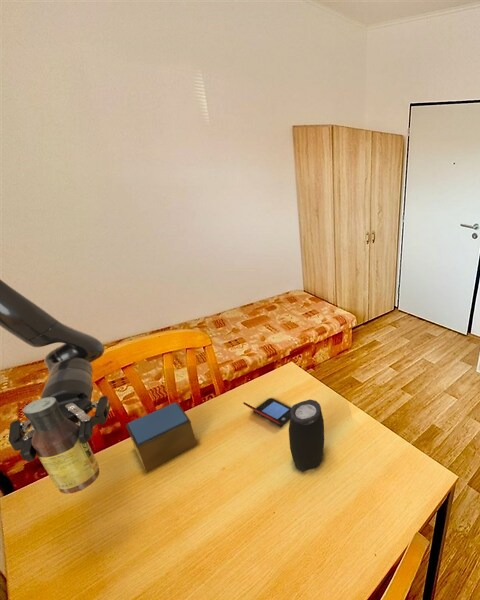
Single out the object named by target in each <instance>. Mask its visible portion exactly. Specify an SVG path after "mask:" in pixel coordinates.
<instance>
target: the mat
mask: <svg viewBox="0 0 480 600" xmlns="http://www.w3.org/2000/svg"><path fill="white" fill-rule="evenodd" d="M176 403H177V402H173V403H171V404H168V405H166V406H164V407H161V408H160V409H157V410H155V411H152V412H150V413H148V414H146V415H143V416H141V417H139V418H137V419H134V420H132V421H130V422H128V423H127V424H128V425H129V427H130V429H131V431H132V433H133V435H134V437H135V439H136V441H137V443H138V445H139V444H141V443H143V442H145V441H147V440H149V439H151V438H153V437H155V436H158V435H160V434H162V433H164V432H166V431H168V430H170V429H172V428H174V427H176V426H178V425H180V424H182V423H184V422H186V421H188V419H187V418H186V416H185V415H184V414H183V412H182V411H181V409H180V408H179V407H178V405H177V404H176Z"/></svg>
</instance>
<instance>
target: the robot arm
mask: <svg viewBox="0 0 480 600" xmlns="http://www.w3.org/2000/svg"><path fill="white" fill-rule="evenodd" d="M0 327H1V328H2V329H4V330H5V331H6V332H8V333H9V334H11V335H13V336H14V337H15V338H17V339H19V340H20V341H22V342H23V343H25V344H27V345H28V346H30V347H32V348H43V347H46V346H50V345H53V344H57V343H58V344H59V343H61V345H60V346H58V347H56V348H54V349H52V350H51V351H50V352H48V353H47V354H46V355H45V357H44V359H43V361H44V364H45V366H46V367H47V371H48V373H49V375H48V377H47V378H48V379H47V381H46V383H45V384H44V387H43V390H42V394H41V397H40V399H42V398H47V397H54V398H56V400H57V401H58V403H59V408H60V410H61V412H62V414H63V415H64V416H65V417H66V418H68V419H69V420H71V421H72V422H74V423H76V424H77V425H79V426H80V429H79V439H80V441H81V443H82V444H84V443H87V442H88V443H89V440H90V439H92V438H93V432H94V428H95V426H97V425H104V424H105V423H106V422H107V420H108V416H109V413H110V410H111V403H110V400H109V398H108V396H107V395H102V396H100V397H99V400H95V401H94V400H93V401H92V395H93V391H94V384H93V383H94V382H93V374H94V367H93V364H92V363H93V362H95V361H96V360H98V359H100V358H101V357H102V356H103V355H104V354H105V346H104V343H102V342H101V340H100V339H98V338H96V337H95V336H93V335H91V334H88V333H85V332H83V331H80V330H78V329H76V328H73V327H71V326H69V325H67V324H65V323H64V322H63V323H62V322H61V321H60V320H58V319H57V318H56V317H54V316H52V314H50V313H49V312H47V311H46V310H45V309H43V308H41V307H40V306H39V305H37V304H36V303H34V302H33V301H31V299H29V298H27V297H26V296H25V295H23V294H21V292H18V291H17V290H16V289H15V288H13V287H11V286H10V285H9V284H8V283H6V282H5V281H3V280H2V279H1V278H0ZM94 409H95V412H94V415H92V416H90V415H88V414H89V413H90V412H92V410H94ZM30 428H31V429H30ZM34 432H35V429H34V428H33V425H32V423H31V421H30V420H29V419H27V420H24V421H21V420H20V419H16V420H13V421H12V422H10V424H9V432H8V442H9V444H10V446H11V447H12V449H13V451H15V452H17V451H20V452H19V455H20V457H21V458H22V460H23V461H27V463H30V462H33V461H35V460H36V456H37V452H36V450H35V449H34V447H33V446H32V437H33V434H34Z"/></svg>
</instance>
